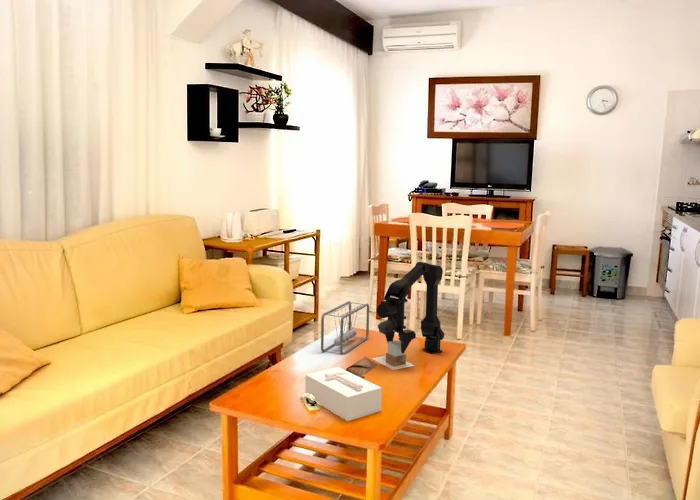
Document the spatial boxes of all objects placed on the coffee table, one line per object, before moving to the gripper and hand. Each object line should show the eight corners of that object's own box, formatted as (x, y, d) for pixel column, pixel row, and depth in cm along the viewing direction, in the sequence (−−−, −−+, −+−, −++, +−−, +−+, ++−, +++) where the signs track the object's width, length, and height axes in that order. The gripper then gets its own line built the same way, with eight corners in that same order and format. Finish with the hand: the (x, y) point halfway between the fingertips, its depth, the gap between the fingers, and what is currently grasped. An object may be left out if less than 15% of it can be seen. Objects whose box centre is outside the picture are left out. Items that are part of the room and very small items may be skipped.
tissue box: (337, 388, 227) (338, 360, 226) (380, 411, 208) (381, 381, 206) (305, 397, 218) (305, 368, 217) (347, 422, 199) (348, 390, 197)
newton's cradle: (341, 357, 262) (342, 317, 260) (320, 353, 267) (320, 314, 264) (368, 338, 289) (369, 302, 287) (348, 335, 294) (349, 300, 291)
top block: (397, 351, 255) (397, 340, 255) (404, 354, 251) (404, 343, 250) (387, 353, 253) (388, 341, 252) (394, 356, 249) (395, 345, 248)
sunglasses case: (363, 379, 236) (355, 364, 237) (349, 385, 239) (342, 370, 240) (382, 365, 252) (375, 351, 253) (368, 371, 255) (361, 357, 256)
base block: (397, 360, 257) (397, 350, 256) (405, 364, 252) (406, 355, 251) (385, 362, 254) (385, 353, 253) (393, 366, 249) (394, 357, 248)
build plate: (392, 356, 264) (392, 354, 264) (414, 367, 251) (415, 365, 250) (371, 360, 258) (371, 358, 258) (393, 372, 245) (393, 369, 245)
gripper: (368, 310, 253) (367, 346, 256) (394, 321, 237) (393, 359, 240) (390, 307, 259) (389, 343, 261) (417, 318, 243) (415, 355, 245)
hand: (396, 350), depth 252 cm, fingers open, 9 cm apart
